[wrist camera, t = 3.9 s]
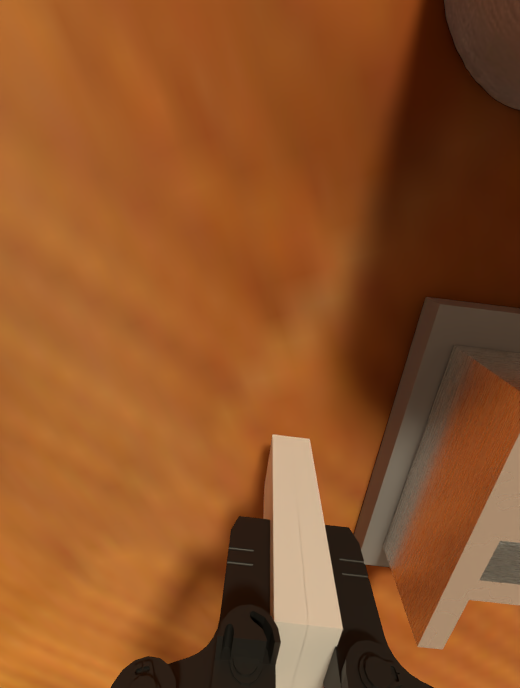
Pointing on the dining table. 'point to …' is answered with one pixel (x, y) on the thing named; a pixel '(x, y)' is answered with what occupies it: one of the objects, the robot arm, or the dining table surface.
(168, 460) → the dining table surface
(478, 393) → the keyhole panel
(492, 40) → the pillar candle
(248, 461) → the dining table surface
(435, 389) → the board
